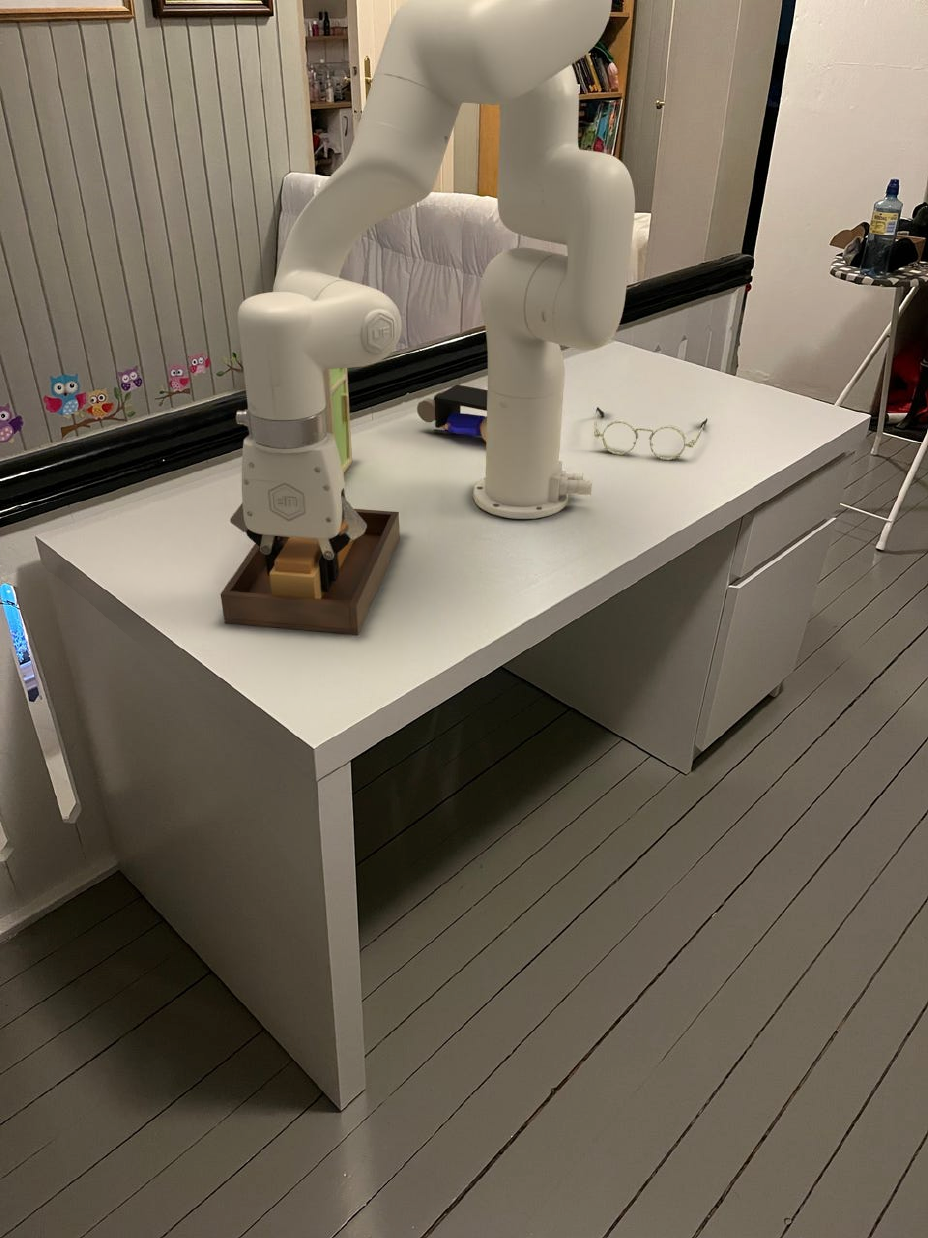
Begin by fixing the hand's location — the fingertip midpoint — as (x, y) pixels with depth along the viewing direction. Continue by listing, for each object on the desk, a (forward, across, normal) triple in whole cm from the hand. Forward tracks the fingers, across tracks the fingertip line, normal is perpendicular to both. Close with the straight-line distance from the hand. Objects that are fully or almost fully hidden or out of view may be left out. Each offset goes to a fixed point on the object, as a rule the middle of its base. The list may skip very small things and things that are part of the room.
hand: (303, 581), depth 103 cm
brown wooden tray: (+2, 0, +5) cm, 6 cm away
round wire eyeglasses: (+2, +38, +53) cm, 65 cm away
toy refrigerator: (+2, -7, +33) cm, 34 cm away
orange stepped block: (+2, 0, +10) cm, 10 cm away
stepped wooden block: (+1, 0, 0) cm, 1 cm away
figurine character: (+2, +11, +49) cm, 50 cm away
